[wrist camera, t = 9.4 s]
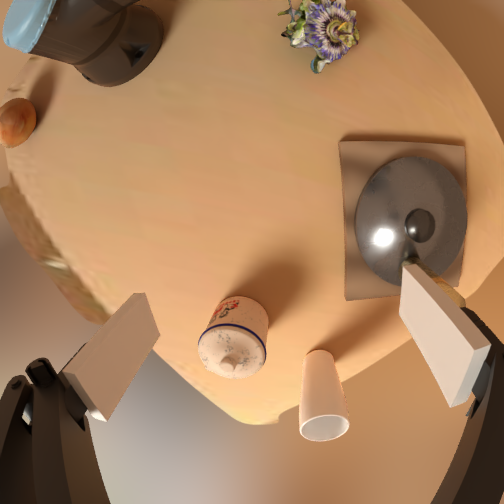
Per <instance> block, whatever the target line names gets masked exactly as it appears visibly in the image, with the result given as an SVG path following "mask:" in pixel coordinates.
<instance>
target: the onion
mask: <svg viewBox="0 0 504 504" xmlns="http://www.w3.org/2000/svg"><path fill="white" fill-rule="evenodd" d="M35 125H36V112H35V109H34V106H33V104H32V103H31V102H30V101H29V100H27V99H24V98H15V99H12V100H10V101H8V102H7V103H5V104H4V105H3V106H2V107H1V108H0V144H2V145H3V146H5V147H6V148H14V147H16V146H18V145H20V144H22V143H23V142H25V141H26V140H27V139H28V138H29V136H30V135H31V134H32V132H33V130H34V127H35Z"/></svg>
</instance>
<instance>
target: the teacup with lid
mask: <svg viewBox="0 0 504 504" xmlns="http://www.w3.org/2000/svg"><path fill="white" fill-rule="evenodd" d="M268 324H269V320H268V315H267V313H266V311H265V309H264V308H263V307H262V306H261V305H260V304H259V303H258V302H256V301H255V300H253V299H250V298H247V297H242V296H236V297H230V298H227V299H225V300H224V301H222V302H221V303H220V304H219V305H218V306H217V308H216V309H215V312H214V314H213V316H212V318H211V320H210V322H209V324H208V326H207V328H206V330H205V331H204V332H203V334H202V335H201V337H200V339H199V342H198V351H199V355H200V358H201V360H202V361H203V363H204V364H205V369H207V370H208V371H213V372H214V373H216V374H218V375H220V376H223V377H226V378H232V379H240V378H246V377H249V376H251V375H253V374H255V373H256V372H258V371H259V370H260V368H261V367H262V366H263V364H264V362H265V360H266V340H267V332H268Z"/></svg>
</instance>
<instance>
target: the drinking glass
mask: <svg viewBox="0 0 504 504" xmlns="http://www.w3.org/2000/svg"><path fill="white" fill-rule="evenodd" d="M299 425H300V433H301V435H302V436H303V437H305V438H306V439H308V440H312V441H328V440H332V439H335V438H337V437H339V436H341V435H343V434H344V433H345V432H346V431H347V430H348V428H349V426H350V421H349V412H348V406H347V402H346V398H345V395H344V392H343V389H342V385H341V382H340V379H339V376H338V373H337V369H336V366H335V362H334V358H333V356H332V354H331V353H329V352H328V351H325V350H315V351H312V352H310V353H308V354H307V355H306V356H305V358H304V360H303V375H302V386H301V395H300V405H299Z"/></svg>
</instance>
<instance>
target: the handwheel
mask: <svg viewBox="0 0 504 504" xmlns="http://www.w3.org/2000/svg"><path fill="white" fill-rule="evenodd" d="M466 228H467V208H466V202H465V198H464V195H463V192H462V190H461V188H460V186H459V184H458V182H457V181H456V179H455V177H454V176H453V175H452V174H451V173H450V172H449V171H448V170H447V169H446V168H445V167H444V166H442V165H441V164H439V163H438V162H436V161H433V160H431V159H428V158H424V157H416V156H415V157H402V158H398V159H395V160H392V161H390V162H388V163H386V164H385V165H383V166H382V167H380V168H379V169H378V170H377V171H376V172H375V173H374V174H373V175H372V176H371V177H370V178H369V180H368V181H367V183H366V184H365V186H364V188H363V189H362V191H361V194H360V196H359V199H358V202H357V206H356V210H355V217H354V230H355V237H356V242H357V245H358V248H359V251H360V253H361V255H362V257H363V259H364V260H365V262H366V263H367V265H368V266H369V267H370V269H371V270H372V271H373V272H374V273H375V274H376V275H377V276H378V277H380V278H381V279H383V280H384V281H386V282H388V283H390V284H393V285H396V286H401V287H402V273H403V266H407V265H414V264H417V265H418V266H419V267H420V268H421V269H422V270H423V271H424V272H425V273H426V274H427V275H428V276H429V277H430V278H431V279H432V280H433V281H434V282H435V283H436V284H437V285H438V286H439V287H440V288H441V289H442V290H443V291H444V292H445V293H446V294H447V295H448V296H449V297H450V298H451V299H452V300H453V301H454V302H455V303H456V305H457V306H458V307H459V308H461V307H466V303H465V299H464V298H463V297H462V296H461V295H460V294H459V293H458V292H457V291H456V290H455V289H453V288H452V287H451V286H450V285H449V284H448V283H447V282H446V281H444V280H443V279H442V278H441V277H440V275H441V274H442V273H444V272H445V271H446V270H447V269H448V268H449V266H450V265H451V264H452V263H453V261H454V260H455V258H456V257H457V255H458V253H459V251H460V249H461V247H462V244H463V241H464V238H465V234H466Z"/></svg>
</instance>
